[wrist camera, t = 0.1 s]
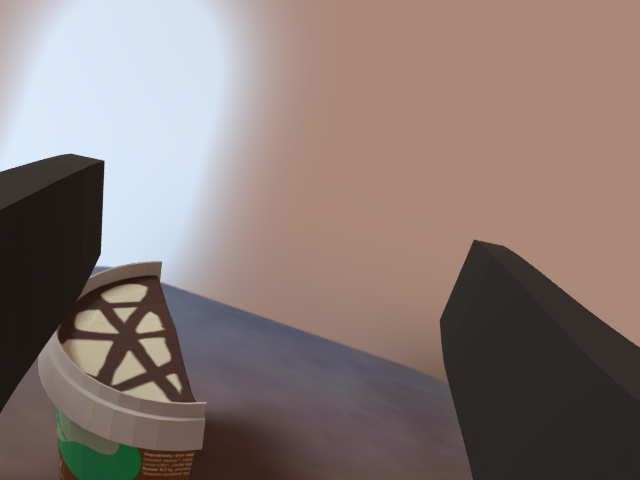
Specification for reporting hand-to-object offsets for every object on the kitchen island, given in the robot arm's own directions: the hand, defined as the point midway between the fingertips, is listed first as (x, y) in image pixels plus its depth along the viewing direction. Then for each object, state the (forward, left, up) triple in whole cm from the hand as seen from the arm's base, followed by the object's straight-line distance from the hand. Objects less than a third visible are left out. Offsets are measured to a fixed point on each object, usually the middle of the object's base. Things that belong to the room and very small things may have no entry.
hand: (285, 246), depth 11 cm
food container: (+12, +6, -22) cm, 26 cm away
